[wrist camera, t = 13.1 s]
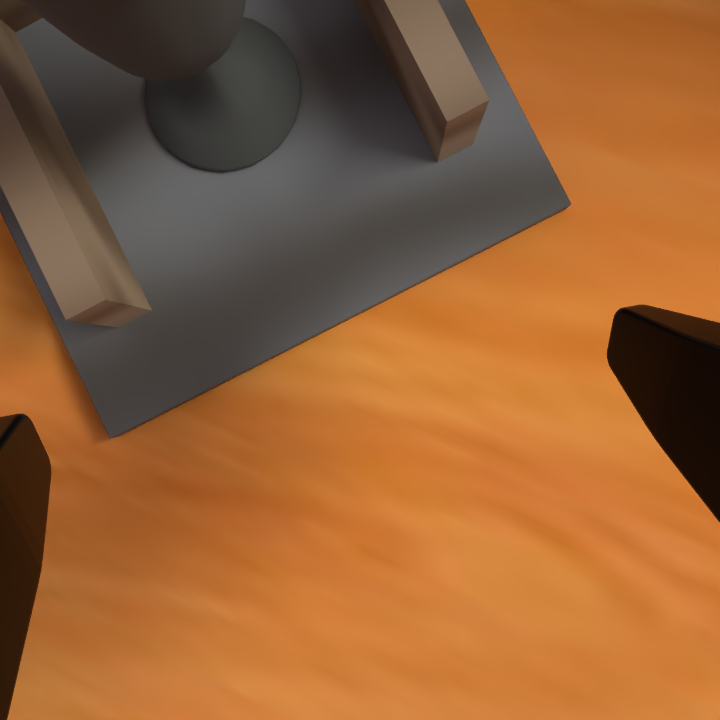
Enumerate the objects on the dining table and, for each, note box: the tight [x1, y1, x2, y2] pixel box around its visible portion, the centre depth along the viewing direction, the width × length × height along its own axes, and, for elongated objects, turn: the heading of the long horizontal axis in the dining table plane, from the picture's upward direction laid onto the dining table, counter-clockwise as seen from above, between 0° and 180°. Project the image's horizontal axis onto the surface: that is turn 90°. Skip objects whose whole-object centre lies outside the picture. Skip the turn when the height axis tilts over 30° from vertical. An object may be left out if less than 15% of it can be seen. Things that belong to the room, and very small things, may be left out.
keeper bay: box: [0, 0, 571, 439], centre depth 17 cm, size 16×16×4 cm
